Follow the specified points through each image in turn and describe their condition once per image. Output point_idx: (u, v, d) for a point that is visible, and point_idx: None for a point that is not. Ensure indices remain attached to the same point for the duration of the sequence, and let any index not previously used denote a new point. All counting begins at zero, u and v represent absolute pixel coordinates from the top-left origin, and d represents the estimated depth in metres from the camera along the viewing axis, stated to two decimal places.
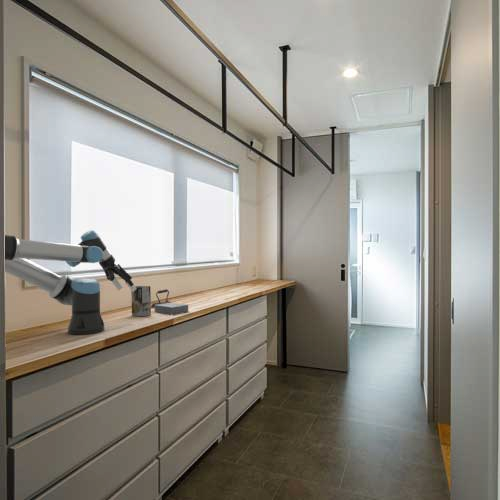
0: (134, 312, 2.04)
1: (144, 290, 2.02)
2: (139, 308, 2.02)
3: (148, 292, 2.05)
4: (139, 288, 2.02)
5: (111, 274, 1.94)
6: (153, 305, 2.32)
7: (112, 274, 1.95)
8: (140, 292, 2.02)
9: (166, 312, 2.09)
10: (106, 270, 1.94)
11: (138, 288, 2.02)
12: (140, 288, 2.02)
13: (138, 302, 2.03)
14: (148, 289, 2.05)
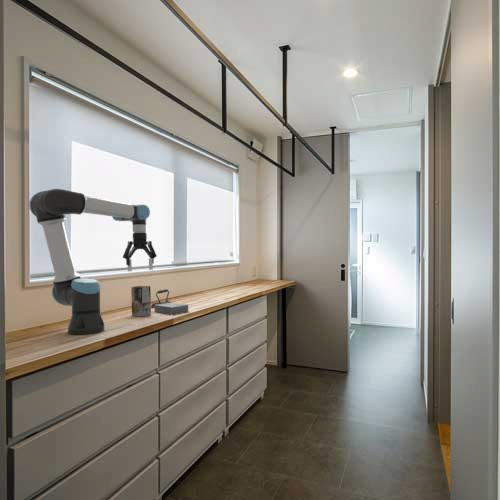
0: (134, 312, 2.04)
1: (144, 290, 2.02)
2: (139, 308, 2.02)
3: (148, 292, 2.05)
4: (139, 288, 2.02)
5: None
6: (153, 305, 2.32)
7: None
8: (140, 292, 2.02)
9: (166, 312, 2.09)
10: (130, 246, 2.01)
11: (138, 288, 2.02)
12: (140, 288, 2.02)
13: (138, 302, 2.03)
14: (148, 289, 2.05)
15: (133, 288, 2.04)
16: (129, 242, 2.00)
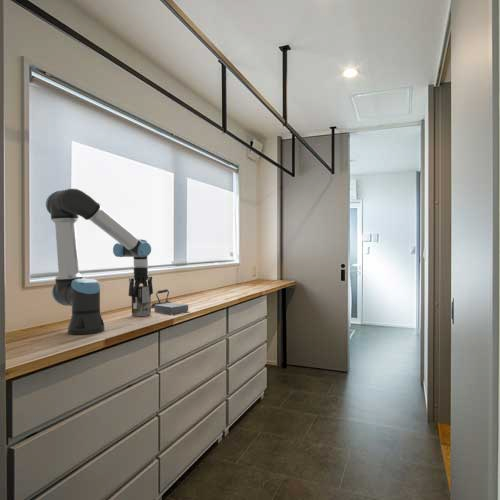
0: (134, 312, 2.04)
1: (144, 290, 2.02)
2: (139, 307, 2.02)
3: (148, 292, 2.05)
4: (139, 288, 2.02)
5: None
6: (153, 305, 2.32)
7: None
8: (140, 292, 2.02)
9: (166, 312, 2.09)
10: None
11: (138, 288, 2.02)
12: (140, 288, 2.02)
13: (138, 302, 2.03)
14: (148, 289, 2.05)
15: None
16: (130, 280, 2.00)
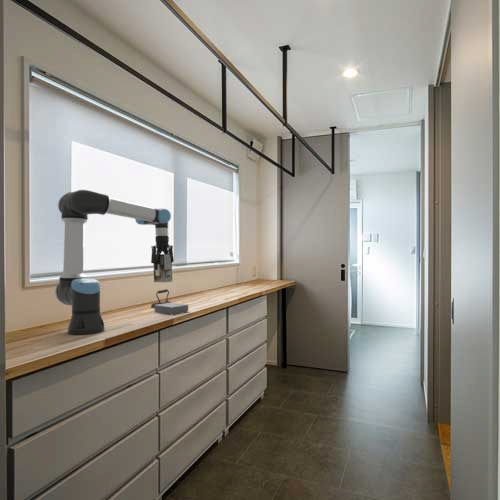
0: (156, 278, 2.11)
1: (166, 257, 2.10)
2: (161, 274, 2.09)
3: (169, 259, 2.12)
4: (161, 255, 2.09)
5: None
6: (153, 305, 2.32)
7: None
8: (162, 259, 2.09)
9: (166, 312, 2.09)
10: None
11: (160, 255, 2.10)
12: (162, 255, 2.09)
13: (160, 269, 2.10)
14: (169, 257, 2.12)
15: None
16: (153, 247, 2.08)
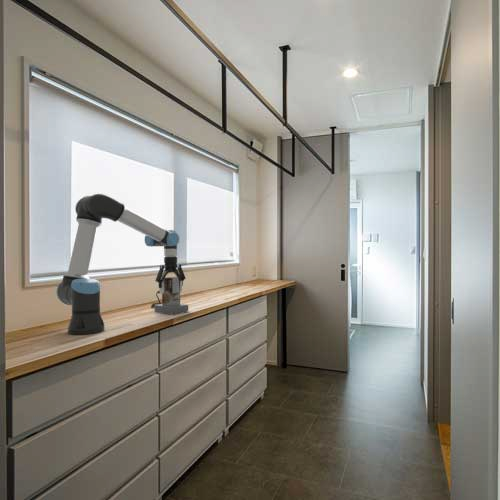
0: (165, 302, 2.14)
1: (174, 281, 2.12)
2: (170, 297, 2.12)
3: (178, 283, 2.14)
4: (169, 279, 2.12)
5: None
6: (153, 305, 2.32)
7: None
8: (170, 283, 2.11)
9: (166, 312, 2.09)
10: None
11: (168, 279, 2.12)
12: (170, 279, 2.11)
13: (168, 292, 2.12)
14: (178, 280, 2.14)
15: None
16: (161, 266, 2.10)
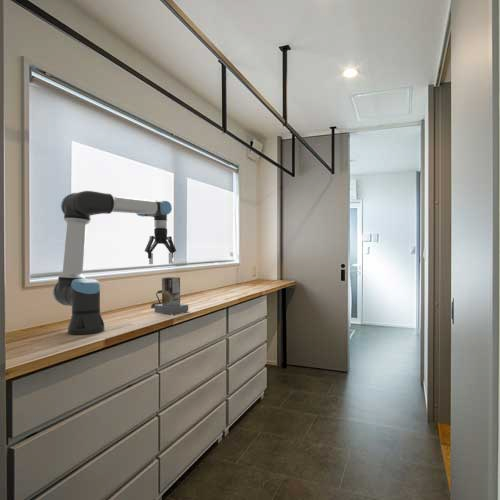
0: (165, 302, 2.14)
1: (174, 281, 2.12)
2: (170, 298, 2.12)
3: (178, 283, 2.14)
4: (169, 279, 2.12)
5: None
6: (153, 305, 2.32)
7: None
8: (170, 283, 2.11)
9: (166, 312, 2.09)
10: None
11: (168, 279, 2.12)
12: (170, 279, 2.11)
13: (168, 292, 2.12)
14: (178, 280, 2.14)
15: (163, 279, 2.14)
16: (151, 237, 2.11)
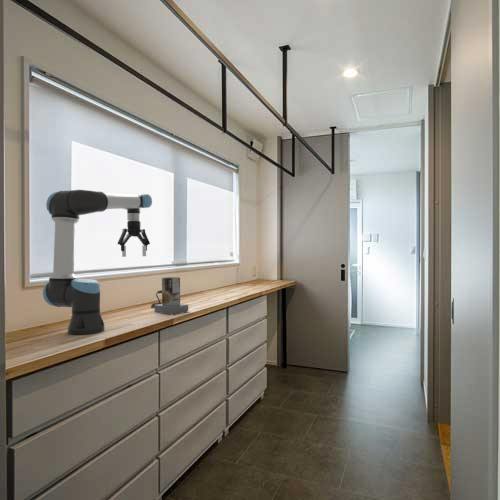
0: (165, 302, 2.14)
1: (174, 281, 2.12)
2: (170, 297, 2.12)
3: (178, 283, 2.14)
4: (169, 279, 2.12)
5: None
6: (153, 305, 2.32)
7: None
8: (170, 283, 2.11)
9: (166, 312, 2.09)
10: None
11: (168, 279, 2.12)
12: (170, 279, 2.11)
13: (168, 292, 2.12)
14: (178, 280, 2.14)
15: (163, 279, 2.14)
16: (124, 229, 2.13)
